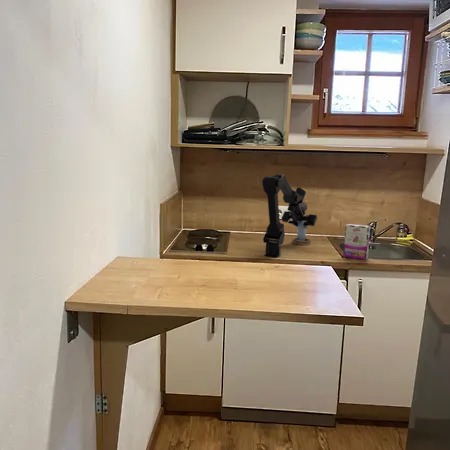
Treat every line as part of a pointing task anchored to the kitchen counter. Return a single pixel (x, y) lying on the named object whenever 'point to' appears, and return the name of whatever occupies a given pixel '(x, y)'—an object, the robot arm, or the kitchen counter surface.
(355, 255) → the candy bar box
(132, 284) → the kitchen counter surface
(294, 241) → the walnut tray
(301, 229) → the bead jar
